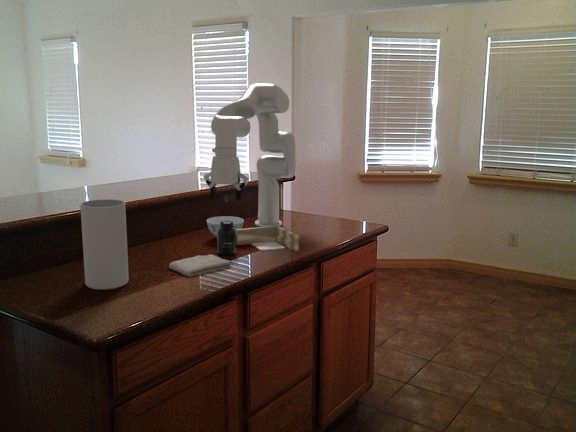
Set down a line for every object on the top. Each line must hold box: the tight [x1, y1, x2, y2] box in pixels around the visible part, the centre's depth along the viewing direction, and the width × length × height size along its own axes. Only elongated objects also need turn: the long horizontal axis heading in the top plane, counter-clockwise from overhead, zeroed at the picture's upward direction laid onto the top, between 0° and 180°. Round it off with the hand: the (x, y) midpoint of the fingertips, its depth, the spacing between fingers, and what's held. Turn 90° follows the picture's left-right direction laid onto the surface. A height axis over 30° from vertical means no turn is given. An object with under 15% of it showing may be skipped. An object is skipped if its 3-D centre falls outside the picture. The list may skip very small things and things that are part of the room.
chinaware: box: [206, 215, 245, 238], centre depth 215 cm, size 15×15×8 cm
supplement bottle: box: [216, 220, 237, 256], centre depth 194 cm, size 7×7×12 cm
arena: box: [236, 225, 300, 252], centre depth 204 cm, size 18×18×6 cm
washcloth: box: [168, 254, 232, 278], centre depth 178 cm, size 12×18×3 cm, turn 134°
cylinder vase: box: [80, 198, 129, 291], centre depth 158 cm, size 12×12×25 cm
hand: (226, 199), depth 191 cm, fingers open, 9 cm apart
